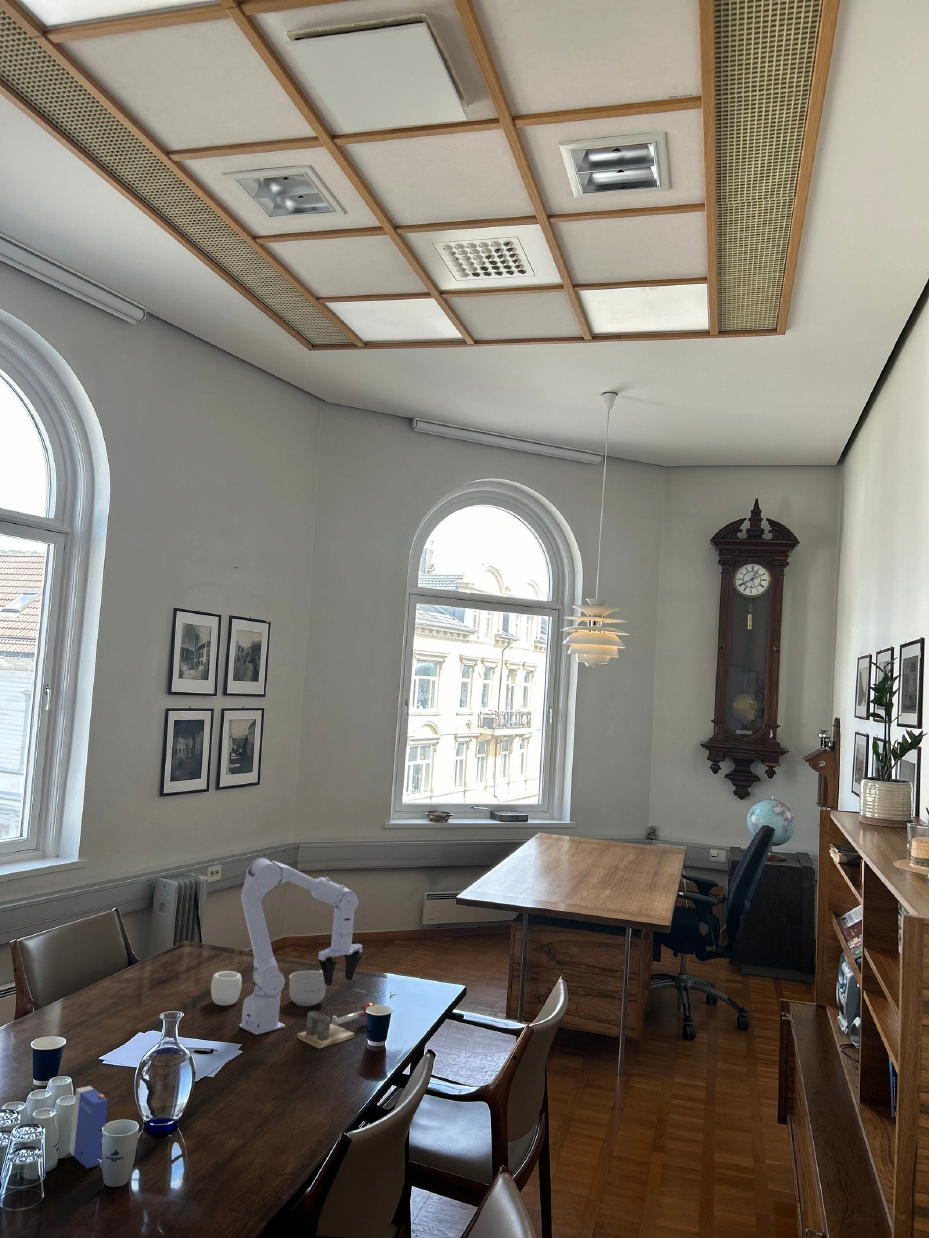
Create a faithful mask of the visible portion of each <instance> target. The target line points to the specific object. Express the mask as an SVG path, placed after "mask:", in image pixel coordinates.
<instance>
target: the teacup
mask: <svg viewBox="0 0 929 1238" xmlns="http://www.w3.org/2000/svg"><path fill="white" fill-rule="evenodd" d="M288 979H289V984H288V985H289V990H288V991H289V997H290V999H291V1001H293V1002H294V1003H295V1005H296V1006H300V1007H311V1006H315V1005H318V1004H319V1003H320V1002H321V1001H322V1000H323V999H324V997H325V995H326V989H327V985H326V984H325V982H324V976H323V971H322V969H320V970H319V971H318V970H299V971H296V972H292V973H290V974H289V976H288Z"/></svg>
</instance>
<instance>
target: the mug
mask: <svg viewBox="0 0 929 1238" xmlns="http://www.w3.org/2000/svg"><path fill="white" fill-rule="evenodd" d="M242 983H243V980H242V974H241V973H240V972H237V971H232V970H224V971H219V972H216V973H214V974H213V976H212V978H211V984H210V995H211V998H212V1001H213V1003H214V1004H215V1005H218V1006H223V1007H224V1006H226V1007H227V1006H231V1005H234V1004H235V1003H236V1002H237V1001H238V1000H239V998H240V994H241V991H242V987H243V986H242V985H243V984H242Z"/></svg>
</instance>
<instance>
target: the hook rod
mask: <svg viewBox="0 0 929 1238" xmlns="http://www.w3.org/2000/svg"><path fill="white" fill-rule="evenodd" d="M374 1005H376V1004H375V1003H373V1002H367V1003H364V1004H362V1006H361V1009H360V1011H356V1012H353V1013H349V1014H346V1015H343V1016H339V1017H338V1016H337V1015H332V1019H331V1024H333V1025H337V1026H338V1025H341V1024H344V1023H347V1022H352V1021H355V1020H358V1019H361V1018H362V1020H363V1021H364V1022H366V1009H367V1007H369V1006H374Z"/></svg>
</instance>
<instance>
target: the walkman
mask: <svg viewBox="0 0 929 1238" xmlns="http://www.w3.org/2000/svg"><path fill="white" fill-rule="evenodd" d="M105 1096H106V1095H104V1094H103V1093H100V1092H99V1091H98V1090H96V1088H93V1087H92V1086H91V1085H87V1086H82V1087H79V1088H76V1089H75V1097H74V1105H73V1106H74V1107H73V1113H72V1114H73V1115H72V1121H71V1123H72V1124H71V1133H70V1141H69V1142H70V1143H69V1151H68V1152H69V1153H70V1154H71V1156H72V1157H74V1158H75V1159H76V1160H77V1161H78V1162H80V1164H82V1166H84V1167H85V1168H86V1169H90V1168H93V1167H96V1166H99V1165H101V1164H100V1162H99V1160H97V1159H100V1158H101V1143H102V1138H103V1134H102V1131H98V1130H100V1128H102V1127H103V1126H105V1127H106V1123H107V1121H106V1120H107V1112H108V1111H107V1110H108V1101H109V1100H108V1098H106V1097H105Z"/></svg>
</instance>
